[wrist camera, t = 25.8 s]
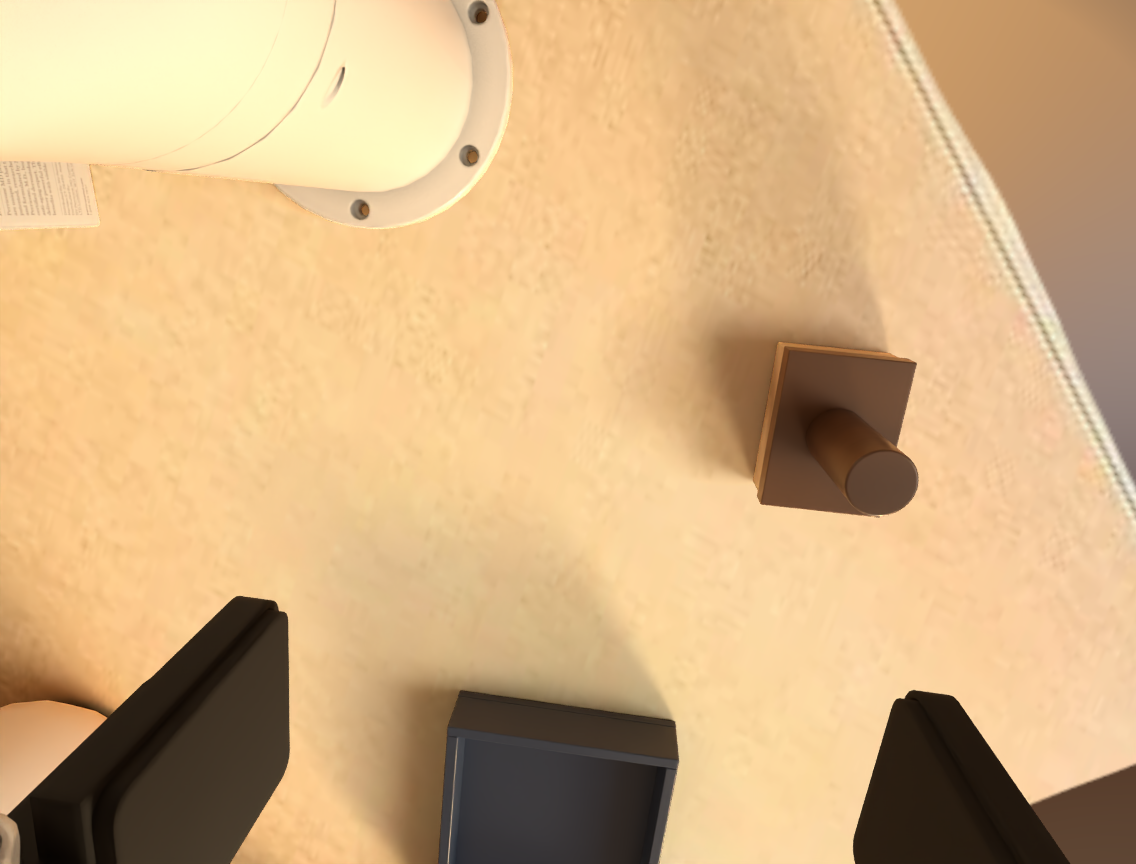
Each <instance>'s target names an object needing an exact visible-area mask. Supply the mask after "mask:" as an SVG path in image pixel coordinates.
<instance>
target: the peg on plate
mask: <svg viewBox="0 0 1136 864" xmlns="http://www.w3.org/2000/svg"><path fill="white" fill-rule="evenodd" d="M916 365H917V363H916V362H914V361H911V360H909V359H907V358H898V357H896V356H894V355H892V354H890V353H883V352H873V351H863V350H854V349H844V348H834V347H824V346H814V345H805V344H795V343H785V342H778V344H777V350H776V355H775V361H774V366H773V372H772V378H771V383H770V389H769V394H768V400H767V405H766V411H765V416H764V422H763V427H762V433H761V439H760V444H759V450H758V455H757V461H756V466H755V472H754V477H753V482H754V484H755V486H756V488H757V490H758V493H757V497H758V499H759V502H760V504H762V505H771V506H780V507H789V508H797V509H806V510H815V511H824V512H833V513H842V514H851V515H860V516H869V517H877V518H879V517H880V516H885V515H889V514H893V513H895V512H897V511H899V510H901V509H902V508H904V507H905V506H906V505H907V504H908V503H909V502H910V501H911V500H912V498H913V497H914V495H915V493H916V490H917V487H918V472H917V469H916V467H915V465H914V463H913V462H912V461H911V459H910V458H908V457H907V456H906V455H905V454H904V453H903V452H901V451H900V450H899V449H898V448H897V443H898V439H899V435H900V431H901V427H902V423H903V419H904V414H905V410H906V406H907V402H908V398H909V394H910V390H911V386H912V381H913V377H914V373H915V369H916Z"/></svg>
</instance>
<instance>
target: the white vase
mask: <svg viewBox="0 0 1136 864" xmlns="http://www.w3.org/2000/svg"><path fill="white" fill-rule="evenodd" d="M106 719H107V717H105V716H103V715H102V714H100V713H98V712H97V711H94V710H90V709H86V708H82V707H78V706H74V705H70V704H66V703H60V702H55V701H49V700H43V701H33V702H22V703H12V704H9V705H6V706H3V707H0V813H2V814H5V815H8V814H9V813H10V812H11V811H12V810H13V809H14V808H15V807H16V806H17V805H18V804H19V803H20V802H21V801H22V800H23V799H24V798H25V797H26V796H27V795H28V794H29V793H31V792H32V791H33V790H34V789H35V788H36V787H37V786H38V785H39V784H40V783H41V782H42V781H43V780H44V779H45V778H46V777H47V776H48V775H49V774H50V773H51V772H52V771H53V770H54V769H55V768H56V767H57V766H58V765H59V764H61V763H62V762H63V761H64V760H65V759H66V758H67V757H68V756H69V755H70V754H71V753H72V752H73V751H74V750H75V749H76V748H77V747H78V746H79V745H80V744H81V743H82V742H83V741H84V740H85V739H86V738H87V737H88V736H89V735H91V734H92V733H93V732H94V731H95V730H96V729H97V728H98V727H99V726H100V725H101V724H102V723H103V722H104V721H105V720H106Z"/></svg>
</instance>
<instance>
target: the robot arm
mask: <svg viewBox="0 0 1136 864" xmlns="http://www.w3.org/2000/svg"><path fill="white" fill-rule="evenodd" d="M482 11H484V12H486V13H487V18H486V20H485V21H484V22H483V23H479V22H477V20H476V17H477V14H478V13H479V12H482ZM512 95H513V62H512V57H511V51H510V46H509V40H508V35H507V30H506V28H505V25H504V22H503V19H502V17H501V14H500V11H499V8H498V6H497V3H496V1H495V0H0V161H35V162H65V163H79V164H91V165H104V166H114V167H124V168H135V169H143V170H147V171H155V172H165V173H175V174H185V175H195V176H205V177H215V178H225V179H235V180H245V181H255V182H265V183H272V184H273V185H274V186H275V187H276V188H277V189H278V190H279V191H280V192H281V193H283V194H284V195H286V196H287V197H288V198H290V199H291V200H292V201H294V202H295V203H296V204H298V205H299V206H301V207H302V208H303V209H305V210H307V211H310V212H312V213H314V214H316V215H318V216H320V217H322V218H324V219H326V220H328V221H332V222H336V223H339V224H343V225H347V226H351V227H357V228H372V229H386V228H399V227H403V226H407V225H411V224H415V223H419V222H423V221H425V220H427V219H429V218H431V217H433V216H435V215H437V214H439V213H441V212H444V211H446V210H447V209H448V208H450V207H451V206H452V205H453V204H455V203H456V202H457V201H459V200H460V199H461V198H463V197H464V196H465V195H466V194H467V193H468V192H469V191H470V190H471V189H472V188H473V186H474V185H475V184H476V183H477V182H478V181H479V180H480V178H481V177H482V176H483V175H484V174H485V172H486V170H487V169H488V167H489V165H490V163H491V162H492V160H493V158H494V156H495V155H496V153H497V151H498V149H499V146H500V144H501V141H502V138H503V135H504V132H505V130H506V127H507V124H508V119H509V113H510V107H511V101H512ZM471 151H475V152H476V153H477V156H478V158H477V161H476V162H475V163H470V162H469V161H468V154H469V153H470V152H471ZM364 204H367V205H368V207H369V214H368V215H367V216H366V215H364V214H363V213H362V206H363V205H364ZM289 752H290V742H289V653H288V616H287V614H286V613H285V612H281V611H279V610H278V606H277V603H276V602H275V601H272V600H265V599H258V598H251V597H243V596H237V597H235V598H233V599H232V600H231V601H230V602H229V603H228V604H227V605H226V606H225V607H224V608H223V609H222V610H221V611H220V612H219V613H217V614H216V615H215V616H214V617H213V618H212V619H211V620H210V621H209V622H208V623H207V624H206V625H205V626H204V627H203V628H202V629H201V630H200V631H199V632H198V633H197V634H196V635H195V636H194V637H193V638H192V639H191V640H190V641H189V642H188V643H187V644H186V645H185V646H183V647H182V648H181V649H180V650H179V651H178V652H177V653H176V654H175V655H174V656H173V657H172V658H171V659H170V660H169V661H168V662H167V663H166V664H165V665H164V666H163V667H162V668H161V669H160V670H159V671H158V672H157V673H156V674H155V675H154V676H153V677H151V678H150V679H149V680H147V681H146V682H145V683H143V684H142V685H141V686H140V687H139V688H138V689H137V690H136V691H135V692H134V693H133V694H132V695H131V696H130V697H129V698H128V699H127V700H126V701H125V702H124V703H123V704H122V705H121V706H120V707H118V708H117V709H116V710H115V711H114V712H113V713H112V714H111V715H110V716H109V717H108V718H107V719H106V720H105V721H104V722H103V723H102V724H101V725H100V726H99V727H98V728H97V729H96V730H95V731H94V732H93V733H92V734H91V735H89V736H88V737H87V738H86V739H85V740H84V741H83V742H82V743H81V744H80V745H79V746H78V747H77V748H76V749H75V750H74V751H73V752H72V753H71V754H70V755H69V756H68V757H67V758H66V759H65V760H64V761H63V762H62V763H61V764H59V765H58V766H57V767H56V768H55V769H54V770H53V771H52V772H51V773H50V774H49V775H48V776H47V777H46V778H45V779H44V780H43V781H42V782H41V783H40V784H39V785H38V786H37V787H36V788H35V789H34V790H33V791H32V792H31V793H29V794H28V795H27V796H26V797H25V798H24V799H23V800H22V801H21V802H20V803H19V804H18V805H17V806H16V807H15V808H14V809H13V810H12V811H11V812H10V813H9V814H8V815H5V814H2V813H0V864H230V862H231V861H232V859H233V858H234V856H235V854H236V853H237V851H238V849H239V848H240V846H241V845H242V843H243V841H244V840H245V838H246V836H247V835H248V833H249V831H250V830H251V828H252V827H253V825H254V823H255V822H256V820H257V818H258V817H259V815H260V813H261V812H262V810H263V809H264V807H265V805H266V804H267V802H268V800H269V799H270V797H271V796H272V794H273V792H274V791H275V789H276V787H277V786H278V784H279V782H280V781H281V779H282V777H283V775H284V773H285V770H286V767H287V764H288V760H289ZM853 854H854V860H855V864H1070V863H1069V861H1068V860H1067V858H1066V857H1065V855H1064V854H1063V853H1062V851H1061V850H1060V848H1059V847H1058V845H1057V844H1056V842H1055V841H1054V839H1053V838H1052V837H1051V835H1050V834H1049V832H1048V831H1047V830H1046V828H1045V826H1044V825H1043V824H1042V822H1041V821H1040V819H1039V818H1038V816H1037V815H1036V813H1035V812H1034V811H1033V809H1032V808H1031V806H1030V805H1029V803H1028V802H1027V800H1026V799H1025V797H1024V796H1023V795H1022V793H1021V792H1020V790H1019V789H1018V787H1017V786H1016V784H1015V783H1014V782H1013V780H1012V779H1011V777H1010V776H1009V774H1008V773H1007V771H1006V770H1005V768H1004V767H1003V766H1002V764H1001V763H1000V761H999V760H998V758H997V757H996V755H995V754H994V753H993V751H992V750H991V748H990V747H989V745H988V744H987V742H986V741H985V740H984V738H983V737H982V735H981V734H980V732H979V731H978V729H977V728H976V726H975V725H974V724H973V722H972V721H971V719H970V718H969V716H968V715H967V713H966V712H965V711H964V709H963V708H962V706H961V705H960V703H959V702H958V701H957V700H956V699H955V698H954V697H953V696H950V695H944V694H937V693H930V692H923V691H916V690H912V691H909V692H908V694H907V695H906V697H905V699H901V698H899V699H896V700H895V702H894V703H893V706H892V709H891V712H890V716H889V719H888V722H887V726H886V729H885V733H884V736H883V739H882V743H881V746H880V750H879V753H878V756H877V760H876V763H875V767H874V770H873V773H872V777H871V780H870V784H869V787H868V790H867V794H866V797H865V801H864V804H863V807H862V811H861V814H860V818H859V821H858V824H857V828H856V831H855V835H854V840H853Z"/></svg>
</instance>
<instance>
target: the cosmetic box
mask: <svg viewBox="0 0 1136 864" xmlns="http://www.w3.org/2000/svg"><path fill="white" fill-rule="evenodd" d="M99 224H100V217H99V213H98V208H97V203H96V198H95V193H94V187H93V183H92V177H91V172H90V167H89V164H79V163H65V162H35V161H0V230H16V229H40V228H74V227H97V226H99Z"/></svg>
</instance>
